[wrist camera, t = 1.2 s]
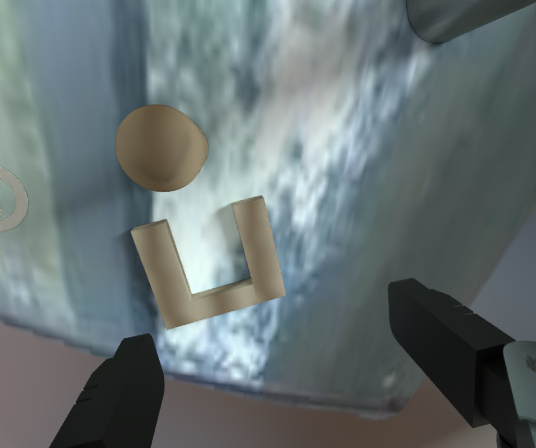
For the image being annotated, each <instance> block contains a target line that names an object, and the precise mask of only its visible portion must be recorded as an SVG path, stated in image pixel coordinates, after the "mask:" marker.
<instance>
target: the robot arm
mask: <svg viewBox="0 0 536 448" xmlns="http://www.w3.org/2000/svg"><path fill="white" fill-rule="evenodd" d="M533 3H536V0H407V12H408V17H409V20H410V23H411V25H412V27H413V29H414V30H415V32H416V33H417V34H418V35H419V36H420V37H421V38H423V39H424V40H426V41H429V42H432V43H442V42H447V41H449V40H451V39H454V38H456V37H458V36H460V35H463V34H465V33H467V32H470V31H472V30H474V29H477V28H479V27H481V26H484V25H486V24H488V23H490V22H493V21H495V20H497V19H499V18H502V17H504V16H506V15H508V14H511V13H513V12H515V11H517V10H520V9H522V8H524V7H526V6H529V5H531V4H533ZM388 301H389V322H390V327H391V330H392V333H393V335H394V337H395V339H396V340H397V342H398V343H399V344H400V345H401V346H402V347H403V349H404V350H405V351H406V352H407V353H408V354H409V355H410V357H411V358H412V359H413V360H414V361H415V362H416V364H417V365H418V366H419V367H420V368H421V369H422V370H423V372H424V373H425V374H426V375H427V376H428V377H429V378H430V380H431V381H432V382H433V383H434V384H435V385H436V387H437V388H438V389H439V390H440V391H441V392H442V393H443V395H444V396H445V397H446V398H447V399H448V400H449V401H450V403H451V404H452V405H453V406H454V407H455V408H456V410H457V411H458V412H459V413H460V414H461V415H462V416H463V417H464V419H465V420H466V421H467V422H468V423H469V425H470V426H471V427H472V428H475V427H478V426H482V425H486V424H491V425H492V426H493V427H494V428H495V429H496V430H497V436H496V441H497V448H536V342H534V341H516V340H514V339H513V338H511V337H510V336H509V335H507V334H505V333H504V332H503V331H501V330H500V329H498V328H497V327H495V326H494V325H492V324H491V323H489V322H488V321H486V320H485V319H483V318H482V317H480V316H479V315H477V314H474V313H473V311H471V310H470V309H469V308H467V307H466V306H463V305H462V304H461V303H460V302H458V301H457V300H455V299H454V298H452V297H451V296H449V295H447V294H444V293H442V292H439V291H436V290H434V289H428V288H427V287H425V286H424V285H423V284H421V283H420V282H418V281H417V280H416V279H414V278H409V279H404V280H399V281H395V282H391V283H389V285H388ZM163 395H164V374H163V371H162V367H161V364H160V361H159V357H158V354H157V351H156V348H155V344H154V341H153V338H152V336H151V335H150V334H149V333H147V334H143V335H138V336H133V337H129V338H124V339H123V340H122V341H121V343H120V345H119V347H118V349H117V351H116V353H115V355H114V357H113V358H109V359H106V360H105V361H104V362H103V363H102V364H101V365H100V366H99V367H98V368H97V369H96V370H95V371H94V372H93V373H92V375H91V376H90V378H89V380H88V381H87V383H86V385H85V387H84V391H82V392H81V393H80V395H79V397H78V399H77V401H76V404H75V405H74V406H73V407H72V409H71V411H70V412H69V414H68V416H67V418H66V419H65V421H64V423H63V425H62V426H61V428H60V430H59V432H58V433H57V435H56V436H55V438H54V440H53V442H52V443H51V445H50V447H49V448H150V447H151V444H152V440H153V436H154V432H155V427H156V423H157V419H158V415H159V411H160V407H161V403H162V399H163Z"/></svg>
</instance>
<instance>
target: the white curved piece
mask: <svg viewBox="0 0 536 448" xmlns="http://www.w3.org/2000/svg"><path fill="white" fill-rule="evenodd" d="M0 179H1V180H3V181H4V182H6V183H7V184H8V185H9V186H10V187H11V189H12V190H13V192H14V194H15V197H16V207H15V210H14V212H13V213H12V214H11V215H10V216H9V217H8V218H6V219H4V220H1V221H0V232H4V231H7V230H10V229H12V228H14V227H16V226H17V225H18V224H20V223H21V222H22V220H23V219H24V218H25V216H26V213H27V210H28V197H27V194H26V191H25V189H24V187H23V185H22V184H21V182H20V181H19V180H18V179H17V178H16V177H15V176H14V175H13V174H11V173H10V172H9V171H7V170H5V169H3V168H1V167H0ZM0 216H1V208H0Z"/></svg>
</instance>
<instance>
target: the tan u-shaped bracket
mask: <svg viewBox="0 0 536 448" xmlns="http://www.w3.org/2000/svg"><path fill="white" fill-rule="evenodd" d="M232 206H233V210H234V214H235V218H236V221H237V225H238V229H239V233H240V237H241V241H242V245H243V248H244V252H245V256H246V260H247V264H248V268H249V271H250V275H251V278H249V279H246V280H242V281H238V282H235V283H231V284H228V285H224V286H220V287H217V288H213V289H210V290H206V291H203V292H199V293H195V294H191V291H190V288H189V285H188V282H187V279H186V276H185V273H184V269H183V266H182V263H181V260H180V257H179V254H178V251H177V248H176V245H175V242H174V239H173V236H172V233H171V230H170V227H169V224H168V221H167V219H165V220H161V221H157V222H153V223H149V224H145V225H141V226H137V227H135V228H134V229H133V230H132V231H131V234H132V237H133V239H134V242H135V245H136V247H137V250H138V253H139V255H140V258H141V261H142V263H143V266H144V269H145V272H146V274H147V277H148V280H149V282H150V285H151V288H152V290H153V293H154V296H155V298H156V301H157V304H158V306H159V309H160V312H161V315H162V317H163V320H164V323H165V325H166V328H167V330H168V329H172V328H175V327H179V326H182V325H186V324H189V323H193V322H196V321H199V320H203V319H206V318H210V317H213V316H217V315H220V314H224V313H227V312H231V311H234V310H237V309H241V308H244V307H248V306H251V305H255V304H258V303H262V302H265V301H269V300H272V299H276V298H279V297H282V296H286V293H285V289H284V285H283V280H282V276H281V271H280V267H279V262H278V258H277V254H276V249H275V245H274V240H273V236H272V232H271V227H270V223H269V218H268V214H267V209H266V205H265V201H264V198H263V196H262V195H261V196H257V197H253V198H249V199H245V200H241V201H237V202H233V203H232Z"/></svg>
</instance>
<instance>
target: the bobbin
mask: <svg viewBox="0 0 536 448" xmlns="http://www.w3.org/2000/svg"><path fill="white" fill-rule="evenodd" d="M115 148H116V154H117V158H118V161H119V163H120V165H121V167H122V169H123V170H124V172H125V173H126V174H127V175H128V176H129V177H130V179H132V180H133V181H134V182H135V183H137V184H138V185H140V186H142V187H144V188H146V189H149V190H152V191H157V192H170V191H175V190H178V189H180V188H183V187H185V186H186V185H188V184H189V183H190V182H191V181H193V179H194V178H195V177H196V176H197V174H198V173H199V171H200V169H201V167H202V166H203V164H204V163H205V161H206V159H207V155H208V143H207V140H206V137H205V135H204V134H203V132H202V131H201V130H200V129H199V128H198V127H197V126H196V125H195V124H194V123H193V122H192V120H191V119H190V118H188V117H187V116H186V115H185V114H183V113H182V112H180V111H179V110H177V109H175V108H172V107H169V106H165V105H147V106H143V107H140V108H138V109H136V110H134V111H133V112H131V113H130V114H129V115H128V116H127V117H126V118H125V119H124V120H123V121H122V123H121V125H120V127H119V129H118V131H117V135H116V141H115Z"/></svg>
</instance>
